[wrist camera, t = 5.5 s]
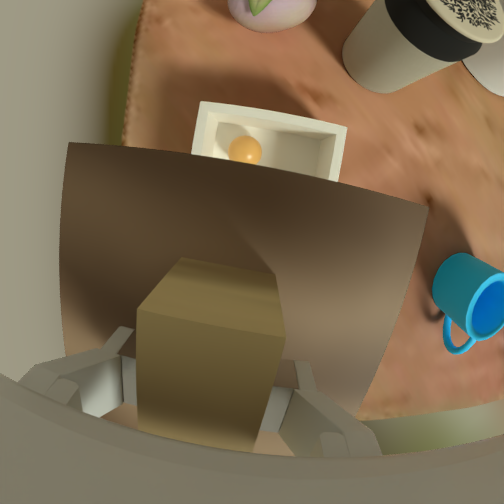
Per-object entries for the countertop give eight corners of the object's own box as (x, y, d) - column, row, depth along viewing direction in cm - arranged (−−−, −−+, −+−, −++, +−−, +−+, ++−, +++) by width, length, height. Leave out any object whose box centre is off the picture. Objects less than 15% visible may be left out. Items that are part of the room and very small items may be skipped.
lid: (82, 143, 10) (-12, 135, 5) (416, 204, 10) (507, 228, 5) (84, 406, 13) (42, 472, 8) (324, 451, 13) (340, 530, 8)
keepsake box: (212, 114, 30) (200, 101, 23) (328, 135, 30) (347, 127, 23) (195, 227, 33) (178, 243, 26) (307, 246, 33) (319, 267, 26)
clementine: (232, 134, 30) (229, 131, 26) (264, 140, 30) (264, 136, 27) (227, 166, 30) (223, 165, 27) (258, 171, 30) (258, 171, 27)
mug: (443, 246, 33) (482, 267, 25) (485, 258, 33) (523, 278, 25) (413, 334, 36) (440, 369, 28) (456, 338, 36) (485, 368, 28)
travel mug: (409, 98, 28) (519, 61, 11) (343, 89, 28) (423, 23, 11) (403, 37, 26) (491, -29, 9) (338, 26, 26) (397, -68, 9)
